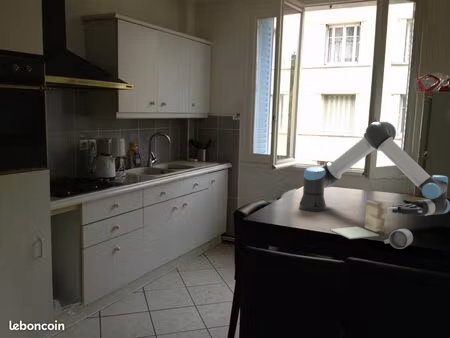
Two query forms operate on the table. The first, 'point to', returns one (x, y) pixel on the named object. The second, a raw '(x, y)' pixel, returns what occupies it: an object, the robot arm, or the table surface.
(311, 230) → the table surface
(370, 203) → the birch block
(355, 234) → the sage mat
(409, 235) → the ceramic mug
